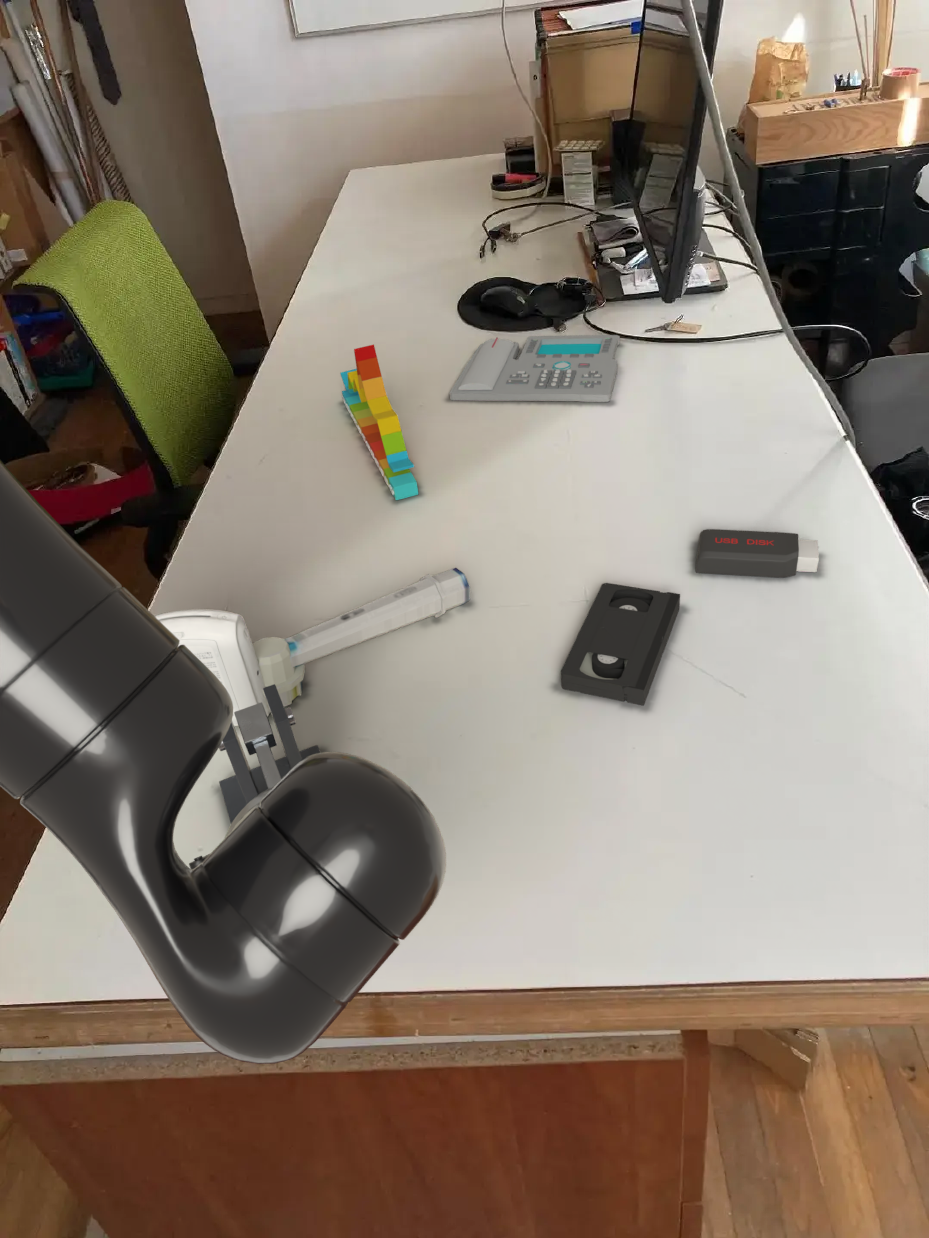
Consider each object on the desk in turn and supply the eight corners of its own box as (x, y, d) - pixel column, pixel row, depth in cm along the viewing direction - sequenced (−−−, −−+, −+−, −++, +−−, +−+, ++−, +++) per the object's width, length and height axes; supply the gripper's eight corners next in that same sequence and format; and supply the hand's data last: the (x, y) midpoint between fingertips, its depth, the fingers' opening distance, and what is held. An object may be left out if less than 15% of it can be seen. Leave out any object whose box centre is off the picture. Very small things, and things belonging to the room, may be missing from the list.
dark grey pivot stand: (360, 851, 75) (328, 742, 67) (252, 895, 73) (205, 788, 65) (320, 753, 84) (287, 646, 76) (222, 789, 81) (178, 684, 73)
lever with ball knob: (327, 865, 68) (323, 852, 65) (285, 882, 67) (279, 869, 64) (273, 715, 74) (267, 697, 71) (233, 729, 73) (226, 711, 70)
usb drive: (698, 544, 102) (699, 523, 100) (814, 550, 99) (818, 528, 97) (695, 573, 98) (697, 551, 96) (816, 580, 95) (820, 558, 93)
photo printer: (276, 694, 90) (243, 594, 82) (269, 726, 87) (234, 625, 79) (173, 703, 91) (131, 604, 83) (162, 735, 87) (117, 635, 80)
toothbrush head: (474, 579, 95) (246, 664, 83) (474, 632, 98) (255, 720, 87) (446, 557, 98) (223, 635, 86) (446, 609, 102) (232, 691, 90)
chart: (342, 403, 138) (321, 304, 129) (363, 398, 139) (344, 299, 129) (394, 501, 115) (373, 389, 106) (418, 494, 116) (400, 383, 106)
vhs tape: (603, 597, 96) (603, 581, 95) (679, 609, 94) (680, 594, 92) (560, 688, 87) (559, 673, 85) (643, 705, 84) (644, 689, 82)
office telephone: (447, 385, 133) (479, 328, 148) (449, 402, 135) (481, 344, 150) (609, 385, 127) (626, 326, 142) (609, 403, 129) (626, 342, 144)
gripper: (390, 743, 50) (363, 749, 67) (147, 836, 47) (182, 817, 64) (439, 875, 50) (399, 848, 66) (195, 978, 47) (218, 922, 63)
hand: (292, 833), depth 65 cm, fingers closed
